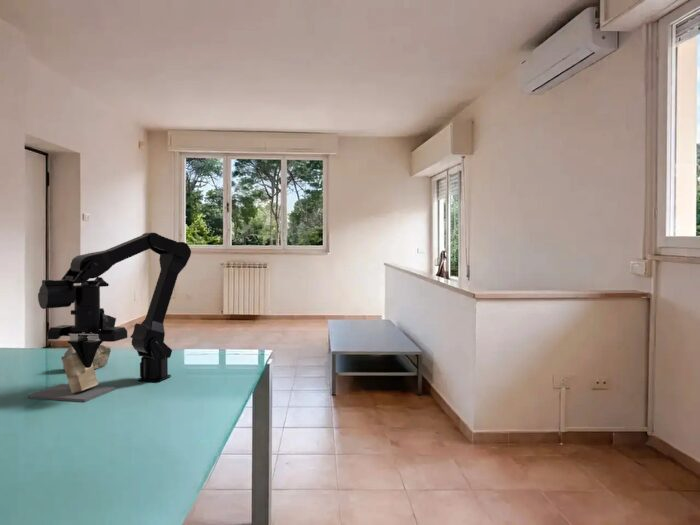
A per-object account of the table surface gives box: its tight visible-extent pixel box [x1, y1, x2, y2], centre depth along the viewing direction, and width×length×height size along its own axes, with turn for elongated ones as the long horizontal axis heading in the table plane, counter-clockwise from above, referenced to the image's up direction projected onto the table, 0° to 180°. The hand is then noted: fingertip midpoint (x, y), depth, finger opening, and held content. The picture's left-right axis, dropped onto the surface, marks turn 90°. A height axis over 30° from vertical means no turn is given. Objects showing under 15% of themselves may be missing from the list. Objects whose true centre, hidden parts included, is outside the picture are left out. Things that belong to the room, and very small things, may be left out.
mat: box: [27, 383, 116, 403], centre depth 129 cm, size 16×11×1 cm
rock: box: [62, 344, 112, 371], centre depth 154 cm, size 12×7×10 cm, turn 114°
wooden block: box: [61, 352, 99, 394], centre depth 129 cm, size 3×6×9 cm, turn 168°
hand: (88, 367), depth 129 cm, fingers closed
